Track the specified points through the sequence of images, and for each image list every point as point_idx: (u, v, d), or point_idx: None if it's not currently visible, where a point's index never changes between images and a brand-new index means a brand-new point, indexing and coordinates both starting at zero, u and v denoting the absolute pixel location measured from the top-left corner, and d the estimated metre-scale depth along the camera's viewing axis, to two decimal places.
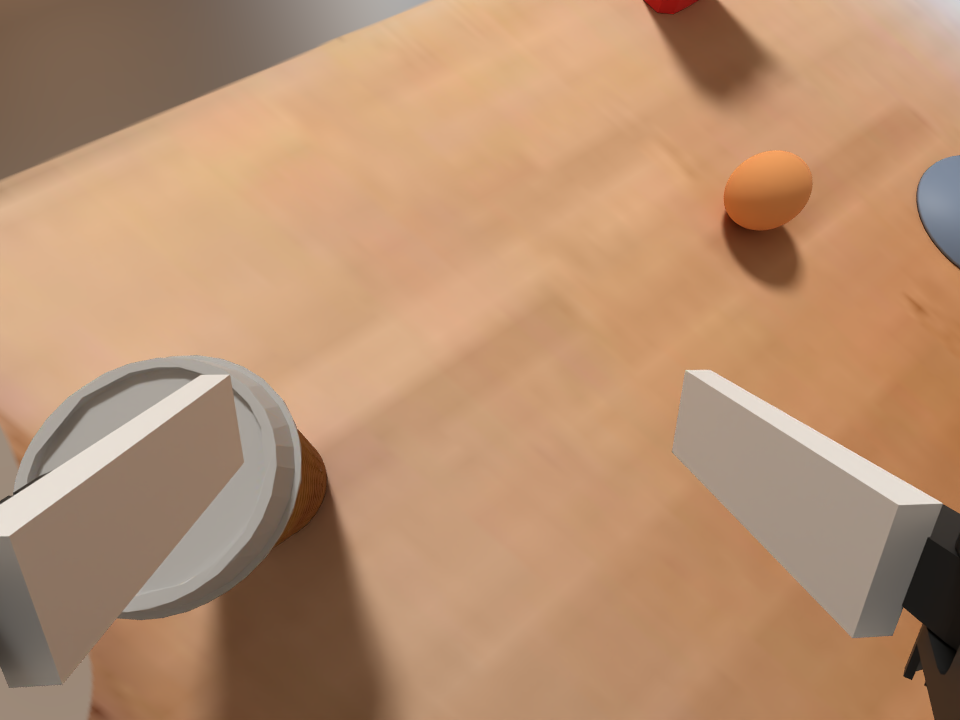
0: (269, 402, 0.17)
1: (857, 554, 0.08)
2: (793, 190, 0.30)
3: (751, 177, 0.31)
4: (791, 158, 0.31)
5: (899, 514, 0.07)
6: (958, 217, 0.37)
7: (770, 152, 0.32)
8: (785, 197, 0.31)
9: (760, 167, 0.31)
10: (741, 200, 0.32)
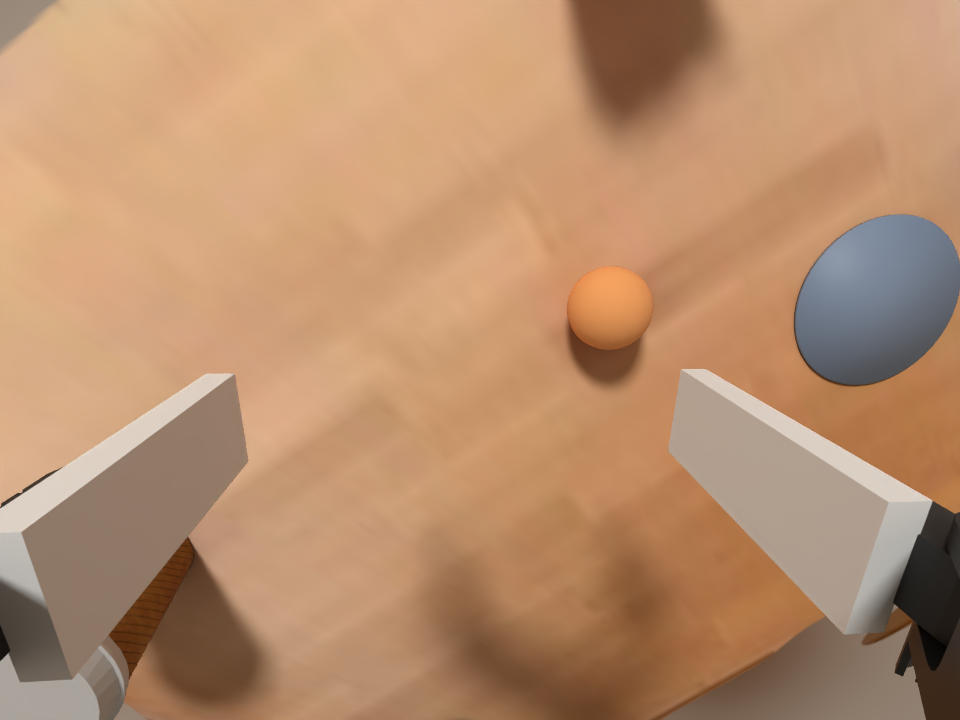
0: None
1: (849, 551, 0.08)
2: (618, 340, 0.28)
3: (582, 314, 0.28)
4: (627, 305, 0.27)
5: (889, 511, 0.07)
6: (838, 303, 0.34)
7: (611, 287, 0.27)
8: (610, 344, 0.29)
9: (592, 308, 0.28)
10: (573, 326, 0.30)
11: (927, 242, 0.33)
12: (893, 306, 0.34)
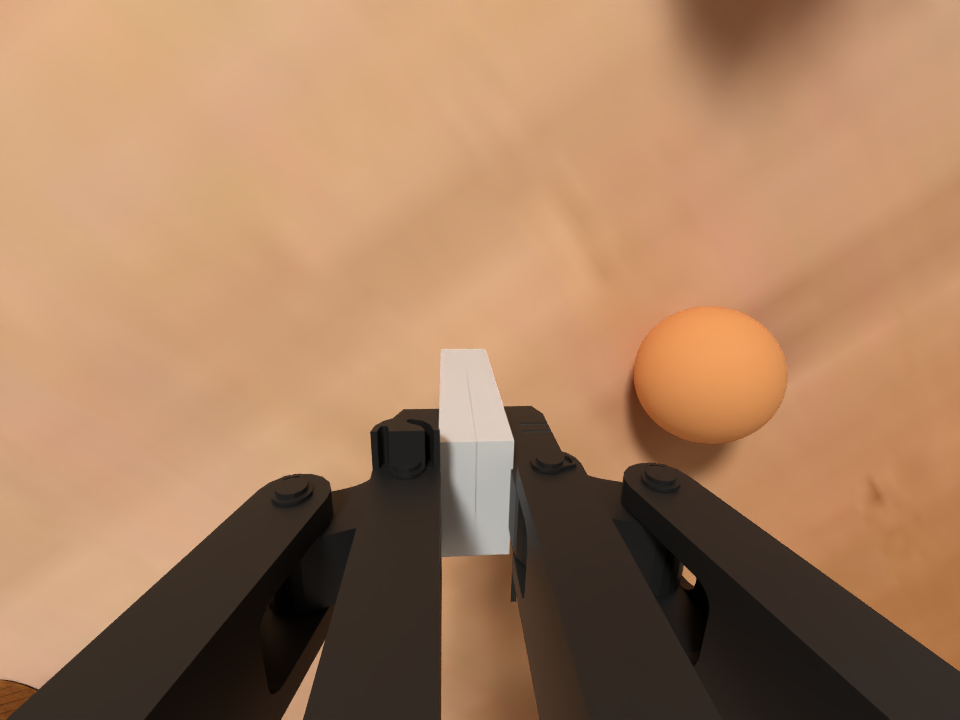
0: None
1: None
2: (731, 435, 0.17)
3: (670, 392, 0.17)
4: (753, 381, 0.15)
5: (480, 450, 0.09)
6: None
7: (724, 348, 0.16)
8: (714, 439, 0.17)
9: (690, 384, 0.16)
10: (647, 406, 0.18)
11: None
12: None
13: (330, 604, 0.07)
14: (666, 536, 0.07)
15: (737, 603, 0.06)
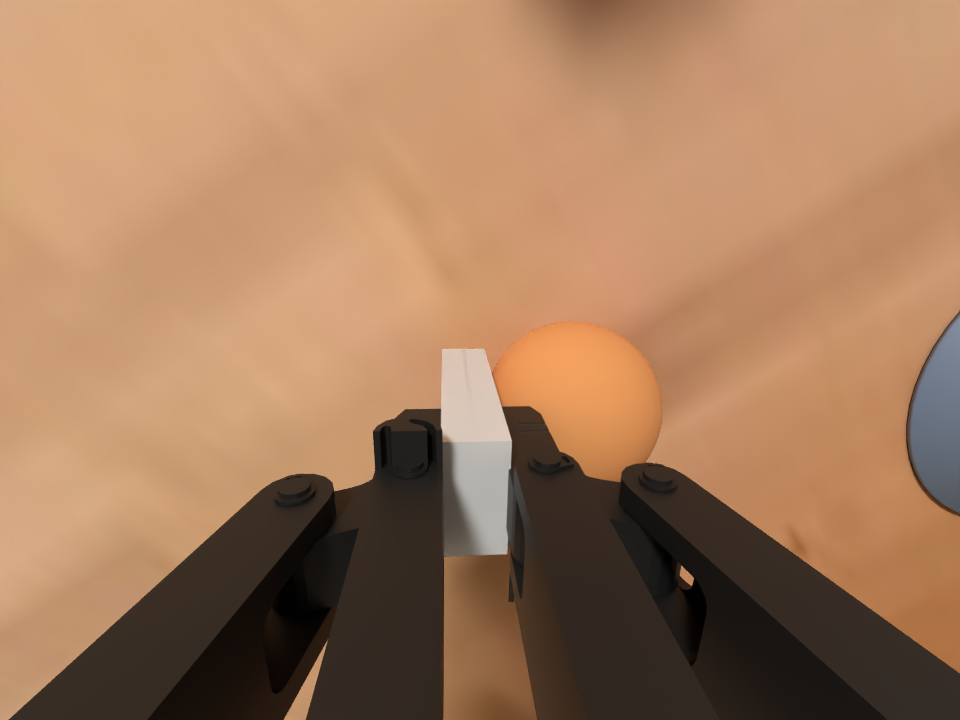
0: None
1: None
2: None
3: None
4: (605, 423, 0.12)
5: (478, 449, 0.09)
6: None
7: (571, 378, 0.12)
8: None
9: None
10: None
11: None
12: None
13: (332, 604, 0.07)
14: (664, 536, 0.07)
15: (735, 603, 0.06)
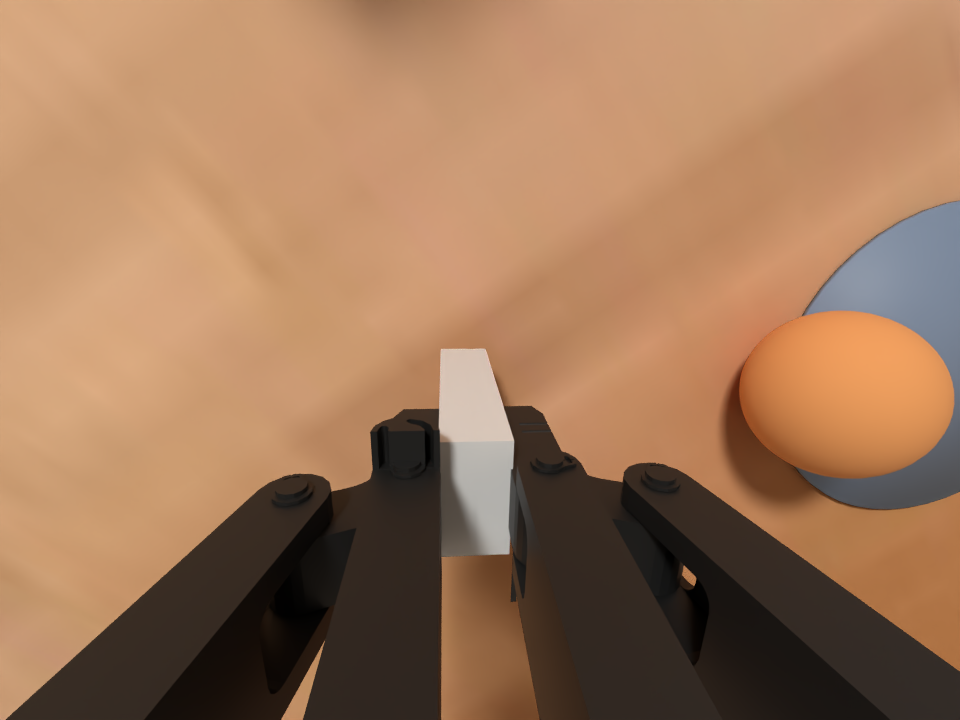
0: None
1: None
2: (765, 439, 0.15)
3: None
4: (774, 377, 0.14)
5: (480, 449, 0.09)
6: None
7: (777, 338, 0.15)
8: (761, 441, 0.16)
9: (744, 366, 0.16)
10: None
11: None
12: None
13: (330, 604, 0.07)
14: (666, 536, 0.07)
15: (737, 603, 0.06)
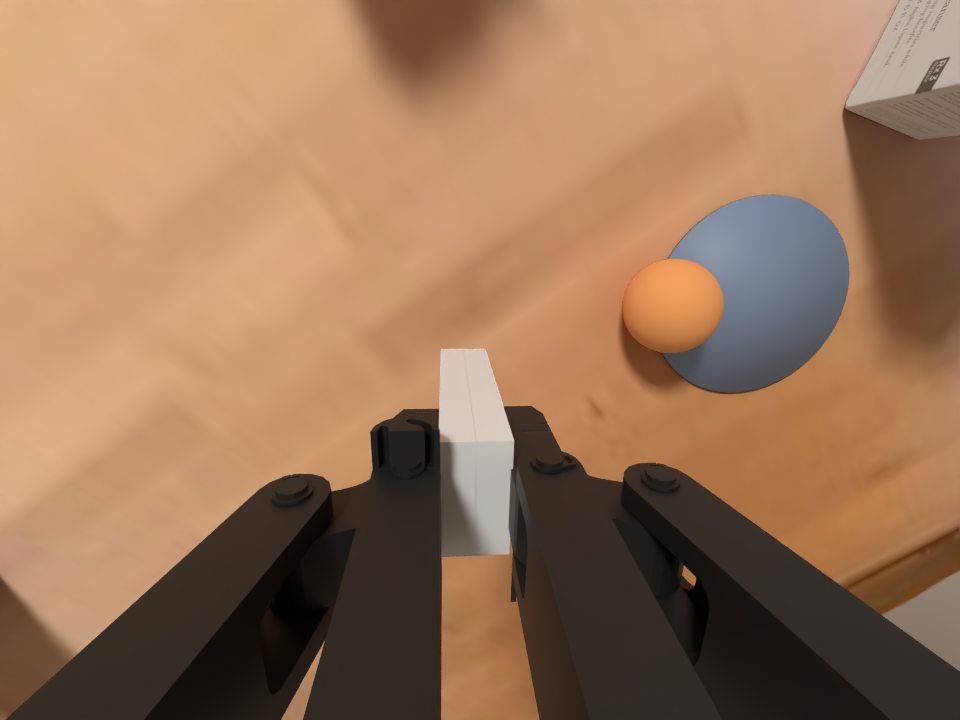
0: None
1: None
2: (631, 332, 0.27)
3: None
4: (632, 294, 0.26)
5: (480, 449, 0.09)
6: None
7: (638, 274, 0.26)
8: None
9: None
10: None
11: (805, 228, 0.28)
12: (769, 303, 0.29)
13: (330, 604, 0.07)
14: (666, 536, 0.07)
15: (737, 603, 0.06)
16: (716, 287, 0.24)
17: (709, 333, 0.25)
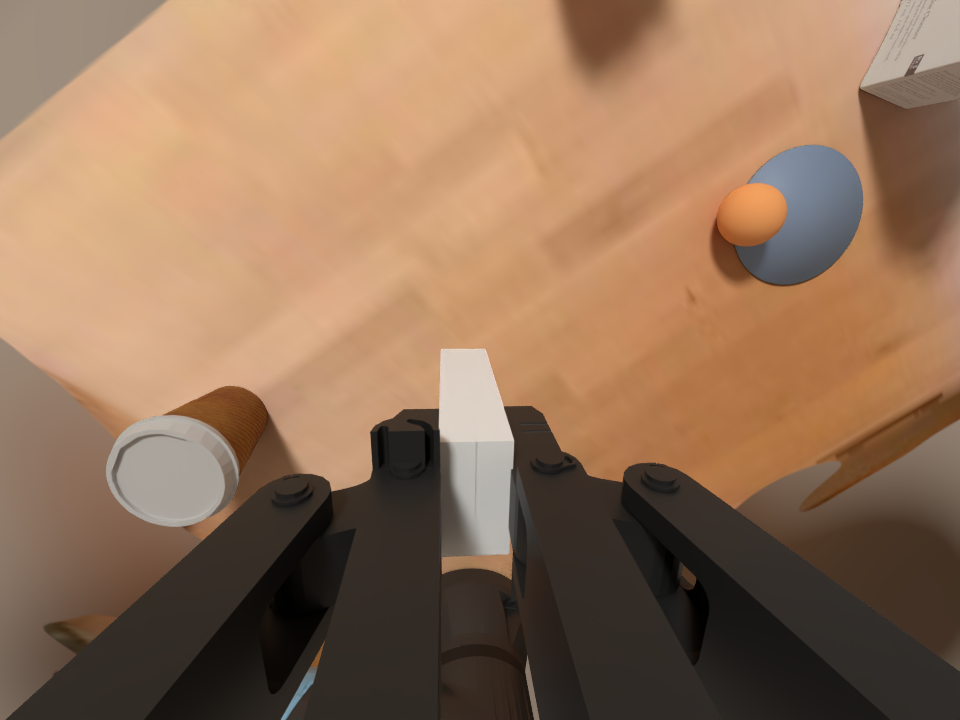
0: (212, 443, 0.35)
1: None
2: (725, 232, 0.41)
3: None
4: (727, 206, 0.40)
5: (480, 449, 0.09)
6: None
7: (729, 194, 0.41)
8: (724, 236, 0.41)
9: None
10: None
11: (834, 167, 0.43)
12: (810, 219, 0.44)
13: (330, 604, 0.07)
14: (666, 536, 0.07)
15: (737, 603, 0.06)
16: (783, 198, 0.39)
17: (778, 228, 0.39)
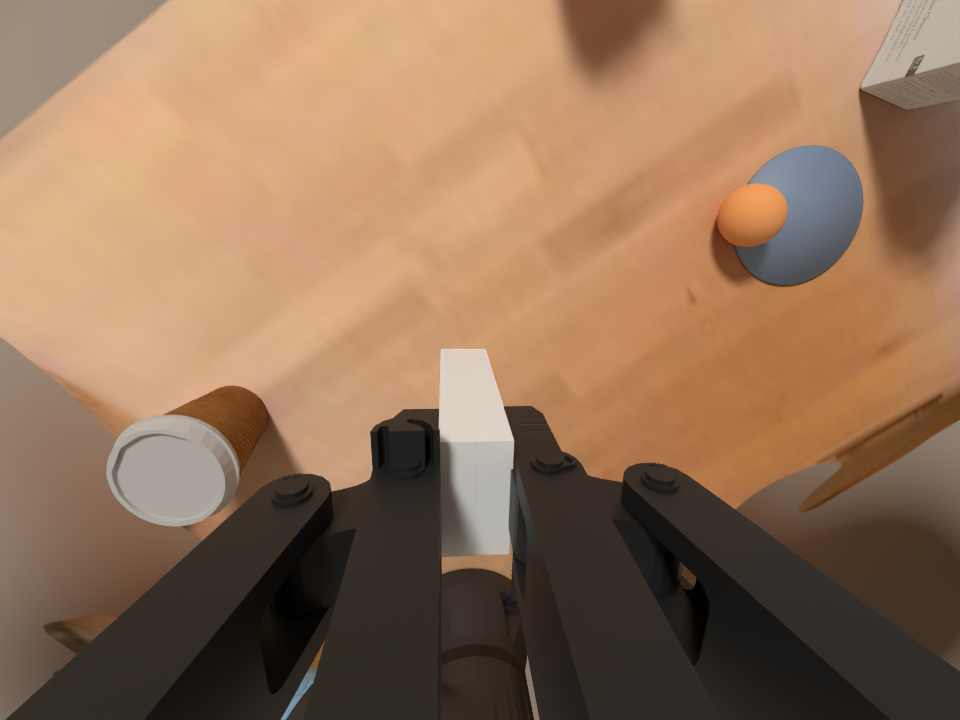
0: (213, 443, 0.35)
1: None
2: (726, 233, 0.41)
3: None
4: (728, 206, 0.40)
5: (480, 450, 0.09)
6: None
7: (730, 194, 0.41)
8: (725, 236, 0.42)
9: (719, 210, 0.42)
10: None
11: (835, 168, 0.43)
12: (810, 220, 0.44)
13: (329, 604, 0.07)
14: (666, 536, 0.07)
15: (737, 603, 0.06)
16: (784, 198, 0.39)
17: (779, 228, 0.39)
